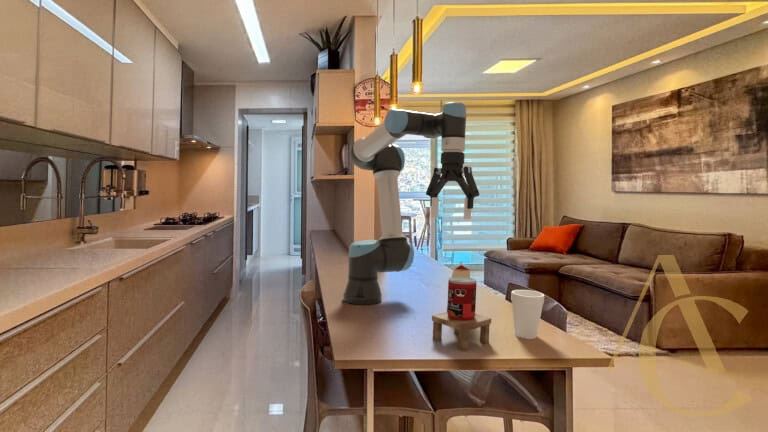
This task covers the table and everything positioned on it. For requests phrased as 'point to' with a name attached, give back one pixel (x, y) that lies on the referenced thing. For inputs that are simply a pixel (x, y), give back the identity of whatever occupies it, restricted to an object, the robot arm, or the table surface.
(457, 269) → the milk carton
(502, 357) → the table surface
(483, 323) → the stool
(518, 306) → the foam cup
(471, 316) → the canned food
